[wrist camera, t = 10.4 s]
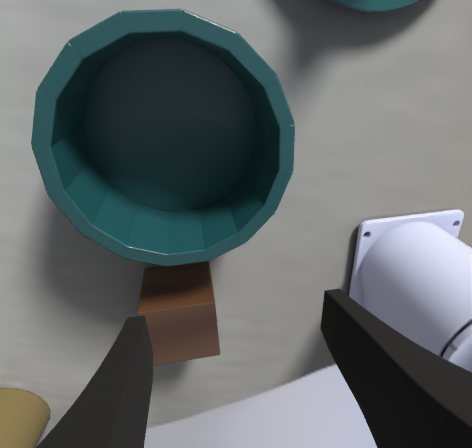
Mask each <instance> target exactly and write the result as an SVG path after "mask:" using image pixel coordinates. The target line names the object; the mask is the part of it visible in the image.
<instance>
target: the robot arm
mask: <svg viewBox="0 0 472 448" xmlns="http://www.w3.org/2000/svg"><path fill="white" fill-rule="evenodd" d="M463 218H464V213H463V212H462V211H460V210H448V211H440V212H432V213H423V214H415V215H407V216H399V217H390V218H382V219H374V220H366V221H363V222H362V223H361V224H360V226H359V230H358V237H357V243H356V250H355V257H354V264H353V271H352V278H351V285H350V292H349V296H348V295H347V294H345V293H344V292H343V291H341V290H340V289H334V290H327V291H325V294H324V302H323V311H322V320H321V330H322V333H323V336H324V338H325V341H326V343H327V346H328V348H329V351H330V353H331V355H332V357H333V358H334V360H335V362H336V364H337V366H338V368H339V369H340V371H341V373H342V375H343V377H344V379H345V381H346V382H347V384H348V386H349V388H350V390H351V391H352V393H353V395H354V397H355V399H356V401H357V402H358V404H359V406H360V409H361V411H362V412H363V415H364V417H365V419H366V422H367V424H368V426H369V429H370V431H371V433H372V436H373V438H374V440H375V443H376V445H377V448H472V248H470V247H469V246H467V245H466V244H464V243H463V242H461V241H460V240H458V239H457V237H458V234H459V231H460V227H461V224H462V221H463ZM454 222H455V223H454ZM453 223H454V224H453ZM366 232H367V234H366V235H364V233H366ZM363 235H364V236H363ZM152 381H153V350H152V345H151V340H150V336H149V331H148V327H147V322H146V318H145V316H137V317H130V318H128V319H127V320H126V322H125V324H124V326H123V328H122V330H121V331H120V333H119V335H118V337H117V339H116V341H115V342H114V344H113V346H112V348H111V349H110V351H109V353H108V354H107V356H106V357H105V359H104V361H103V362H102V364H101V366H100V367H99V369H98V370H97V372H96V373H95V375H94V376H93V377H92V379H91V380H90V382H89V383H88V385H87V386H86V388H85V389H84V390H83V392H82V393H81V395H80V396H79V397H78V399H77V400H76V401H75V402H74V404H73V405H72V406H71V408H70V409H69V410H68V411H67V413H66V414H65V415H64V416H63V417H62V419H61V420H60V421H59V422H58V423H57V424H56V426H55V427H54V428H53V429H52V430H51V431H50V433H49V434H48V435H47V436H46V437H45V438H44V439H43V441H42V442H41V443H40V444H39V445H38V446H37V447H36V448H144V440H145V433H146V426H147V418H148V411H149V404H150V397H151V389H152Z"/></svg>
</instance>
